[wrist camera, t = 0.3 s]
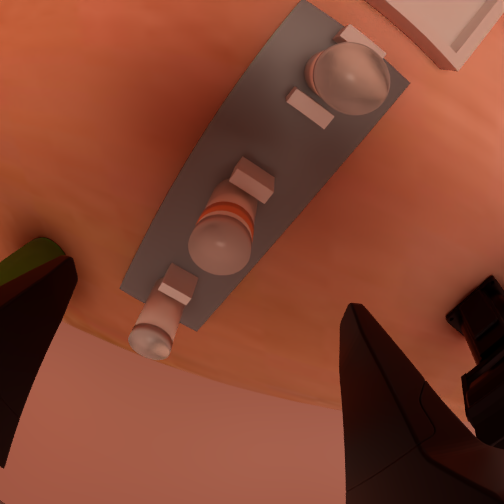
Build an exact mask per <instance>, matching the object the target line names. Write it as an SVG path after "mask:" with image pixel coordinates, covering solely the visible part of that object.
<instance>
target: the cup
mask: <svg viewBox="0 0 504 504" xmlns="http://www.w3.org/2000/svg"><path fill="white" fill-rule="evenodd" d="M61 255H65V254H64V252H63V251H62V250H61V248H60V247H59V246H58V245H57V244H56V243H54V242H53V241H51V240H49V239H47V238H37V239H34V240H32V241H30V242H29V243H27V244H26V245H24V246H23V247H21V248H20V249H18V250H17V251H15V252H14V253H13V254H11V255H10V256H8V257H7V258H5V259H4V260H3V261H1V262H0V286H1V285H3V284H5V283H7V282H9V281H11V280H13V279H15V278H17V277H19V276H20V275H22V274H24V273H26V272H28V271H30V270H32V269H34V268H36V267H38V266H40V265H42V264H44V263H46V262H48V261H51V260H53V259H55V258H57V257H59V256H61Z"/></svg>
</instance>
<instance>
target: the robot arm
mask: <svg viewBox="0 0 504 504" xmlns="http://www.w3.org/2000/svg"><path fill="white" fill-rule="evenodd" d="M77 280H78V276H77V272H76V268H75V264H74V260H73V258H72V257H69V256H65V255H61V256H59V257H57V258H55V259H53V260H51V261H48V262H46V263H44V264H42V265H40V266H38V267H36V268H34V269H32V270H30V271H28V272H26V273H24V274H22V275H20V276H19V277H17V278H15V279H13V280H11V281H9V282H7V283H5V284H3V285H1V286H0V466H1V467H2V468H4V467H5V464H6V461H7V458H8V454H9V451H10V447H11V444H12V441H13V438H14V434H15V431H16V428H17V425H18V422H19V420H20V419H19V418H20V416H21V414H22V411H23V408H24V405H25V403H26V400H27V397H28V395H29V392H30V390H31V387H32V384H33V382H34V380H35V377H36V375H37V373H38V370H39V368H40V366H41V363H42V361H43V359H44V357H45V354H46V352H47V350H48V348H49V346H50V344H51V341H52V339H53V337H54V335H55V333H56V331H57V329H58V327H59V325H60V323H61V321H62V318H63V316H64V314H65V311H66V309H67V306H68V303H69V301H70V298H71V296H72V294H73V291H74V289H75V286H76V284H77ZM446 320H447V322H448V323H449V324H450V325H452V326H453V327H454V328H455V329H456V330H457V331H459V332H460V333H461V334H462V335H463V336H464V337H465V339H466V341H467V343H468V346H469V348H470V350H471V352H472V355H473V357H474V360H475V362H476V364H477V366H475V367H474V368H473V369H472V370H470V371H469V372H468V373H467V374H466V373H465V374H464V375H463V376H461V380H462V389H463V396H464V404H465V412H466V417H467V420H468V421H469V422H470V423H471V425H472V426H473V428H474V429H475V433H476V437H475V436H474V435H473V434H472V432H471V431H470V430H469V429H468V428H467V427H466V426H465V425H464V424H463V423H462V422H461V421H460V419H459V418H458V417H457V416H456V415H455V414H454V413H453V412H452V411H451V410H450V409H449V408H448V406H447V405H446V404H445V403H444V402H443V401H442V400H441V398H440V397H439V396H438V395H437V394H436V392H435V391H434V390H433V389H432V387H431V386H430V385H429V384H428V382H427V381H425V379H424V378H423V376H422V375H421V374H420V373H419V371H418V370H417V369H416V368H415V366H414V365H413V364H412V363H411V361H410V360H409V359H408V358H407V357H406V355H405V354H404V353H403V352H402V350H401V349H400V348H399V347H398V346H397V344H396V343H395V342H394V341H393V340H392V338H391V337H390V336H389V335H388V334H387V332H386V331H385V330H384V329H383V328H382V326H381V325H380V324H379V323H378V322H377V321H376V319H375V318H374V317H373V316H372V315H371V314H370V312H369V311H368V310H367V309H366V308H365V307H364V306H363V305H362V304H358V303H350V304H349V305H348V306H347V309H346V311H345V313H344V316H343V318H342V320H341V323H340V355H339V374H340V386H341V399H342V412H343V427H344V446H345V470H346V471H345V472H346V504H504V290H503V289H502V287H501V286H500V284H499V283H498V282H497V280H496V279H495V277H494V276H491V277H489V278H488V279H487V280H486V281H485V282H484V283H483V284H482V285H481V286H480V287H479V288H477V289H476V290H475V291H474V292H473V293H472V294H471V295H470V296H469V297H468V298H467V299H465V300H464V301H463V302H462V303H461V304H460V305H459V306H457V307H456V308H455V309H454V310H453V311H452V312H450V313H449V314H448V315H447V317H446ZM0 504H5V503H3V502H2V501H0Z"/></svg>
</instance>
